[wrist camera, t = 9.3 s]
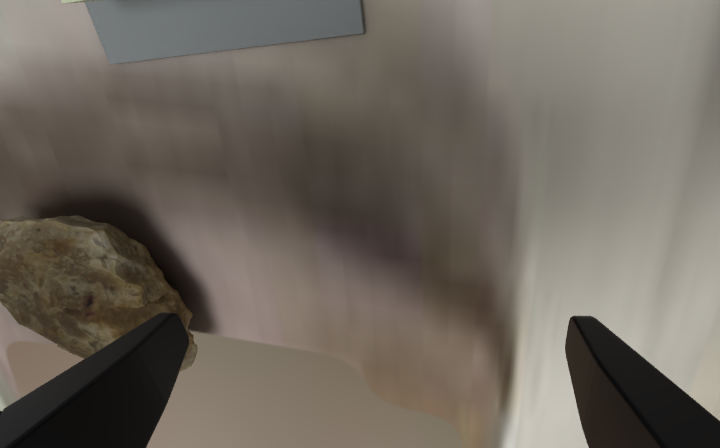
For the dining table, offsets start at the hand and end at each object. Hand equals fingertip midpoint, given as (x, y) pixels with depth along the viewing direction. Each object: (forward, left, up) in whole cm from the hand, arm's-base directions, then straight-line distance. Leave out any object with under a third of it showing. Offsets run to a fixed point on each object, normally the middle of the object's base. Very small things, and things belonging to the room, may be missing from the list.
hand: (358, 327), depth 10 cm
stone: (+18, +7, -12) cm, 23 cm away
